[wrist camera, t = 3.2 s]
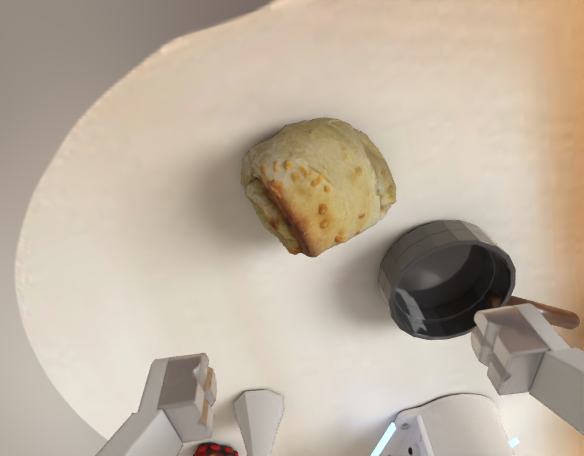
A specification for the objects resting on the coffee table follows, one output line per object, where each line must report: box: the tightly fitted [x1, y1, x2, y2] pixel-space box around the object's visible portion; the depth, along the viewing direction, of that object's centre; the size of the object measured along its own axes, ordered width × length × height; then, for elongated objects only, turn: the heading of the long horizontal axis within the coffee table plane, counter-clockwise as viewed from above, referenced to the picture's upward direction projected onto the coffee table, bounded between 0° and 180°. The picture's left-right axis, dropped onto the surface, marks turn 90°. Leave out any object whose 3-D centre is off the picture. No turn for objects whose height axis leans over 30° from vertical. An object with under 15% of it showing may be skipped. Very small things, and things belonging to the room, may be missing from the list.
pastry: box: [241, 118, 396, 257], centre depth 32 cm, size 14×12×8 cm
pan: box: [378, 220, 516, 340], centre depth 40 cm, size 13×13×4 cm
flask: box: [234, 390, 284, 456], centre depth 47 cm, size 7×7×10 cm
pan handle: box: [488, 293, 580, 329], centre depth 41 cm, size 12×2×2 cm, turn 70°
